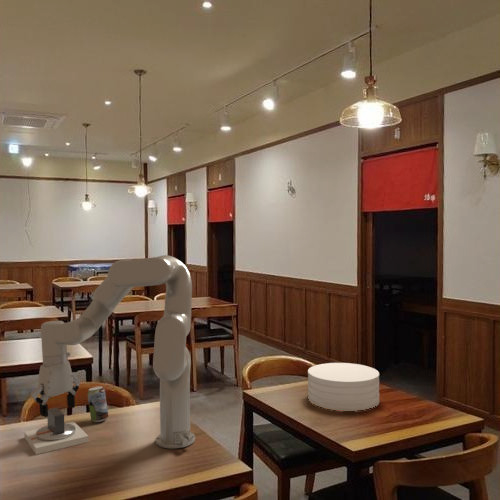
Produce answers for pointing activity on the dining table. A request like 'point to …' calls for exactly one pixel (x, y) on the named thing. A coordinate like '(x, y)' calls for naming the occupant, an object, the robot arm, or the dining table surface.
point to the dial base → (47, 446)
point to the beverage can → (97, 404)
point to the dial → (55, 427)
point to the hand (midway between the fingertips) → (58, 411)
